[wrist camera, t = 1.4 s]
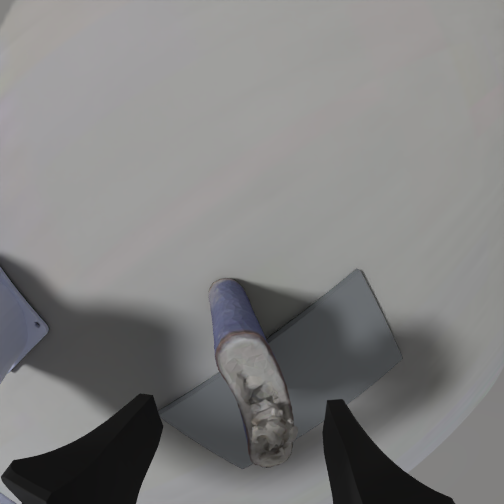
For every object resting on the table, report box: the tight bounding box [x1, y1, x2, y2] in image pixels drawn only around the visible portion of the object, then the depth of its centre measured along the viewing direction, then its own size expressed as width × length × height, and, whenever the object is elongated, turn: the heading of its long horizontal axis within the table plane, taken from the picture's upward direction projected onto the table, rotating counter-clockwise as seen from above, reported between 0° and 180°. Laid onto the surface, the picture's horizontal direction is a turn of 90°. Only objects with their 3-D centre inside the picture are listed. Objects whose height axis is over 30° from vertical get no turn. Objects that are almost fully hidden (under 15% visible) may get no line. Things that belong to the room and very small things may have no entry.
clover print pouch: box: [209, 278, 298, 468], centre depth 16 cm, size 9×3×11 cm, turn 11°
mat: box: [158, 269, 403, 469], centre depth 24 cm, size 12×20×1 cm, turn 125°
